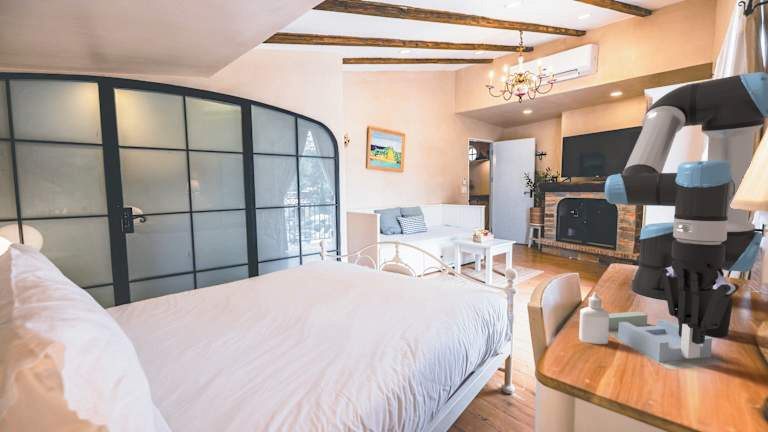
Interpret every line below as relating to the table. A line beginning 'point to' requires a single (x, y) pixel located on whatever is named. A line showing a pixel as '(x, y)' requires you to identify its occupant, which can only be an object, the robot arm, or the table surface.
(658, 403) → the table surface
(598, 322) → the eye dropper bottle
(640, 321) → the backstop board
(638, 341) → the cradle block
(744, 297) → the table surface
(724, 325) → the pen holder
